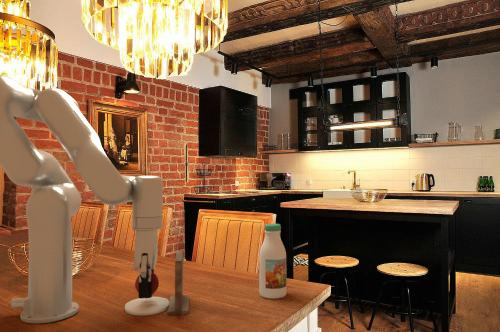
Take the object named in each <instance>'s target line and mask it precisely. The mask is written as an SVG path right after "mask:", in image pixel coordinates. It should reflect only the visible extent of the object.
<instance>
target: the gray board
mask: <svg viewBox="0 0 500 332" xmlns="http://www.w3.org/2000/svg"><path fill="white" fill-rule="evenodd" d="M175 254H176V255H175V260H174V295H170V298H169V308H168V309H167V316H173V315H174V316H175V315H189V314H190V313H189V311H190V310H189V309H190V295H189V294H186V295H185V294H184V250H177V251H176V253H175Z"/></svg>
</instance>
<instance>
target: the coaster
mask: <svg viewBox="0 0 500 332" xmlns="http://www.w3.org/2000/svg"><path fill="white" fill-rule="evenodd" d="M169 303H170V299H168V298H166V297H162V296H152V297H151V298H139V297H137V298H135V299H132V300H129V301H128V302H127V303H125V305H124V312H125V313H126V314H128V315H133V316H142V317H144V316H152V315H158V314H161V313H164V312H165V311H168V308H169Z"/></svg>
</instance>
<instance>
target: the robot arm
mask: <svg viewBox="0 0 500 332" xmlns="http://www.w3.org/2000/svg"><path fill="white" fill-rule="evenodd" d="M15 117H16V118H19V119H24V120H28V121H34V122H38V123H43V124H44V125H45V126H46V127H47V128H48V129H49V131H50V133H52V135H53V136H54V137H55V139H56V141H58V142H59V144H60V145H61V147H62V148H63V150H64V151H65V153H67V155H68V157H69V159H70V161H71V162H72V163H71V164H73V166H74V167H75V169H76V171H77V172H78V174H79V175H80V177H81V178H82V180H83V181H84V183H85V184H86V186H88V188H89V189H90V191H91V193H93V195H95V197H96V198H97V199H98V200H99V201H100V202H101V203H102V204H104V205H106V206H111V207H114V206H119V205H121V204H124V203H130V202H132V211H131V212H132V219H131V220H132V222H131V223H132V225H131V226H132V228H131V230H132V231H135V235H134V249H133V252H134V254H133V270H134V271H135V272H136V271H138V270H139V274H138V276H139V293H138V297H137V298H151V297H153V295H152V281H151V271H153V272H154V273H155V266H156V265H157V261H158V247H159V245H158V242H159V237H158V236H159V230H162V229H163V211H164V210H163V208H164V207H163V197H164V196H163V195H164V193H163V192H164V191H163V189H164V188H163V187H164V186H163V183H164V182H163V179H162V177H161V176H159V175H138V176H131V175H123V174H121V173H120V172H119V171H118V169H117V168H116V167H115V165H114V164H113V163H112V161H111V160H110V159H109V157H108V156H107V153H106V152H105V151H104V148H103V147H102V143H101V139H100V136H99V134H98V132H96V130H95V129H94V128H93V126H92V125H91V124H90V123H89V121H88V120H87V118H86V117H85V115H84V114H83V113H82V112H81V109H80V106H79V104H78V102H77V100H75V98H73V97H72V96H71V95H70V94H68V93H67V92H65V90H61V88H60V89H59V88H56V87H52V88H51V87H49V88H45V89H43V90H41V89H40V90H39V89H36V88H32V87H27V86H25V85H23V84H21V82H18V81H16V80H14V79H13V78H11V77H8V76H7V75H2V74H0V167H1V168H2V170H3V171H4V173H5V174H6V176H7V178H8V179H9V180H10V181H11V182H12V183H13V184H15V185H17V186H20V187H29V188H30V189H31V191H32V193H31V194H30V195H29V197H28V198H27V201H26V205H25V218H26V222H27V228H28V229H27V231H28V232H27V233H28V282H27V283H28V285H27V286H28V287H27V289H28V290H27V292H28V293H27V295H28V296H26V297H24V298H21V297H13V298H11V300H10V303H9V304H10V308H11V309H12V310H13V309H15V310H17V309H22V311H21V313H20V320H21V321H22V322H24V323H27V324H46V323H53V322H58V321H61V320H64V319H68V318H70V317H73V316H74V315H75V314H77V313H78V312H79V310H80V307H79V303H77V302H76V301H73V230H72V219H71V218H72V217H74V216H75V215H76V214H77V213H78V212H79V210H80V208H81V206H82V198H81V193H80V192H79V190H78V188H77V187H76V185H75V184H74V182H73V181H72V180H71V178H70V177H69V175H68V173H67V171H66V170H65V169H64V168H63V166H62V165H61V163H60V162H59V161H58V160H57V158H56V157H55V156H54V155H52V154H51V153H49V152H47V151H46V150H41V149H38V148H37V147H36V146H35V144H34V142H32V140H31V138H30V137H29V136H28V134H27V133H26V131H25V130H24V128H23V127H22V126H21V125H20V124H19V122H18V121H17V120H16V119H15ZM147 267H148V268H149V269H147ZM147 272H149V274H148V273H147ZM148 275H149V276H148Z"/></svg>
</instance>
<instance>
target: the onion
mask: <svg viewBox="0 0 500 332" xmlns="http://www.w3.org/2000/svg"><path fill="white" fill-rule="evenodd" d="M147 269H149V268H148V267H147ZM147 273H148V274H149V272H147ZM148 276H149V275H148ZM151 281H152V296H153V295H154V294H155V293H156V291H158V288H159V284H160V283H159V281H160V280H159V278H158V276H157V274H156V273H155V271H154V272H153V271H151ZM134 286H135V287H134V289H135V290H136V292H137V293H138V294H139V275H138V276H137V277H136V278H135V282H134Z"/></svg>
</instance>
